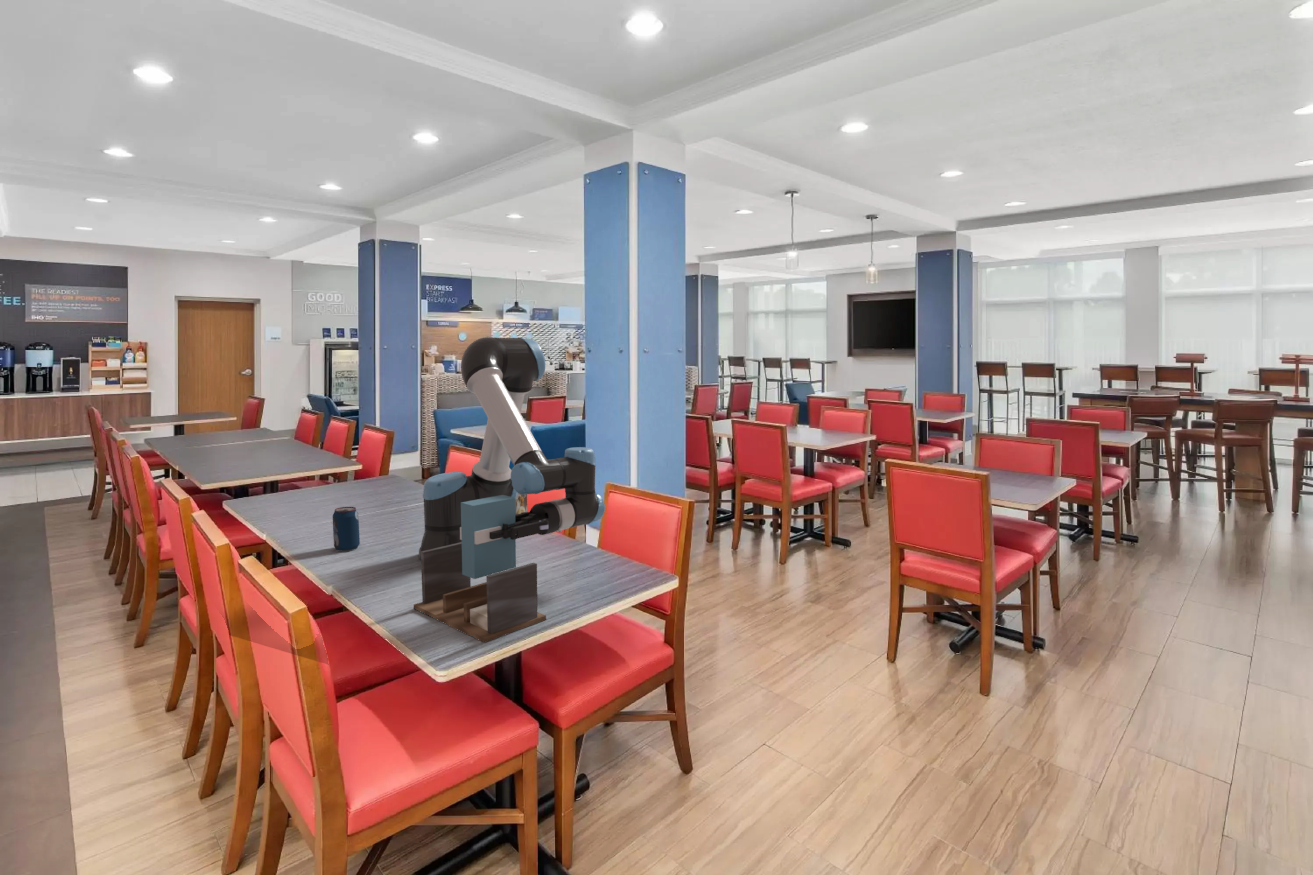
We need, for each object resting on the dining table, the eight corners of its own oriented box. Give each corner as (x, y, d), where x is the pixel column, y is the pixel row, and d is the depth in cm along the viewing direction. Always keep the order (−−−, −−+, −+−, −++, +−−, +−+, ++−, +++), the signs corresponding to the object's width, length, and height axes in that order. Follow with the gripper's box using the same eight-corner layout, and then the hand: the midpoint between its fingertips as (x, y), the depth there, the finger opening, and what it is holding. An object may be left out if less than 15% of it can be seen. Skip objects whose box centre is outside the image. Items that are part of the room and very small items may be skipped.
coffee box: (510, 525, 230) (509, 478, 228) (528, 526, 229) (527, 479, 227) (498, 532, 221) (497, 483, 219) (517, 533, 220) (516, 484, 218)
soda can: (364, 545, 204) (362, 506, 203) (352, 552, 197) (350, 511, 196) (342, 545, 205) (340, 505, 203) (329, 551, 198) (327, 511, 197)
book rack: (413, 608, 155) (411, 553, 153) (474, 590, 167) (472, 538, 165) (484, 642, 137) (482, 579, 136) (545, 619, 149) (545, 562, 148)
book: (462, 574, 149) (460, 502, 147) (503, 563, 157) (502, 494, 155) (474, 579, 146) (473, 505, 144) (515, 567, 154) (515, 497, 152)
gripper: (576, 538, 159) (493, 561, 141) (527, 525, 170) (445, 544, 152) (576, 507, 158) (492, 525, 140) (527, 496, 169) (444, 512, 151)
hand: (468, 535), depth 146 cm, fingers closed on book, 4 cm apart
